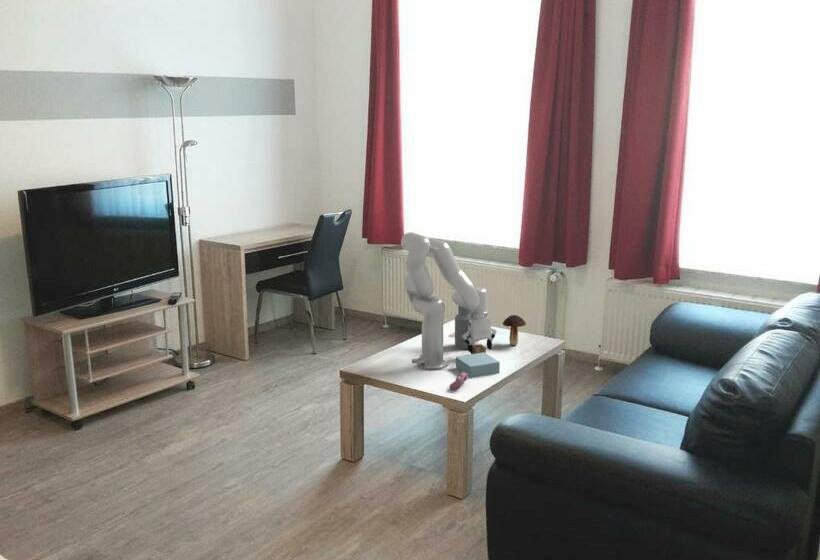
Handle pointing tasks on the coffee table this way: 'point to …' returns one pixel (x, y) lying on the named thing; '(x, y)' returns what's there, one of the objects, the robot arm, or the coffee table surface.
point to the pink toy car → (459, 381)
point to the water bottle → (462, 327)
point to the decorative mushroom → (514, 327)
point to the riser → (477, 364)
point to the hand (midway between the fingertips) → (479, 350)
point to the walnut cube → (478, 349)
